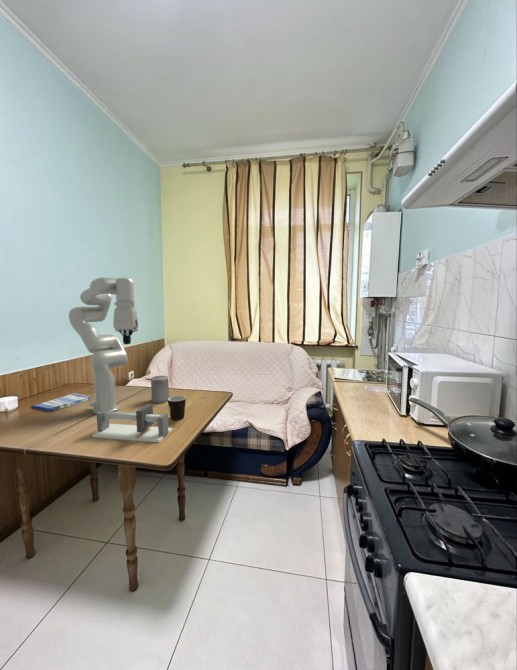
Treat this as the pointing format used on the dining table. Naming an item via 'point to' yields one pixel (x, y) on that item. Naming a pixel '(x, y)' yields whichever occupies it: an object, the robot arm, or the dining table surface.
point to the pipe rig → (131, 427)
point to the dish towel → (62, 402)
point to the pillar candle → (160, 389)
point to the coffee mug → (177, 407)
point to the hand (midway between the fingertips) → (127, 343)
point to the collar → (143, 417)
